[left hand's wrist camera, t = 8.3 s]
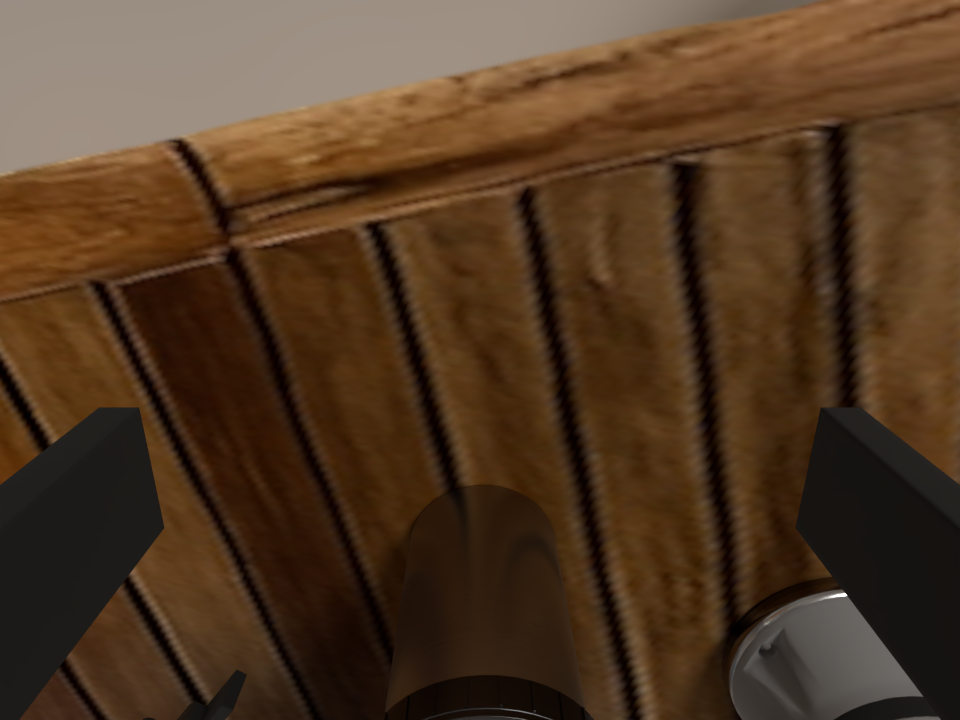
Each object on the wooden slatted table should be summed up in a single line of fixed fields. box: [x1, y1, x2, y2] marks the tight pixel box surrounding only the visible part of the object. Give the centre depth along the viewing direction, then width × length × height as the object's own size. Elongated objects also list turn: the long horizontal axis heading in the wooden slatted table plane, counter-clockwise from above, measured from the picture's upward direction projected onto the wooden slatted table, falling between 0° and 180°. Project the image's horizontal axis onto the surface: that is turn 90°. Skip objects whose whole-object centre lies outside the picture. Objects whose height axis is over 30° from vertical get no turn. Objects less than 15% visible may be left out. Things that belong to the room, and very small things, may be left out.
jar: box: [385, 485, 586, 712], centre depth 37 cm, size 10×10×18 cm
